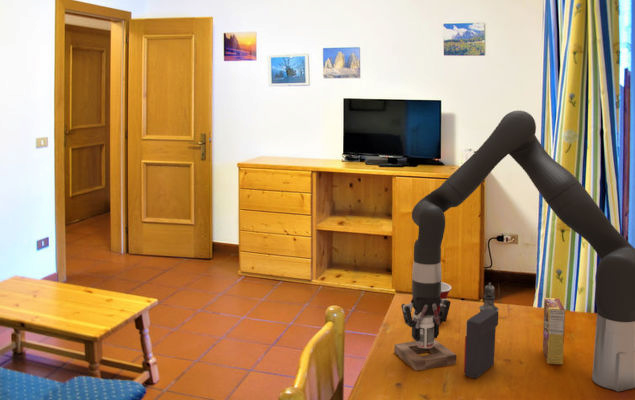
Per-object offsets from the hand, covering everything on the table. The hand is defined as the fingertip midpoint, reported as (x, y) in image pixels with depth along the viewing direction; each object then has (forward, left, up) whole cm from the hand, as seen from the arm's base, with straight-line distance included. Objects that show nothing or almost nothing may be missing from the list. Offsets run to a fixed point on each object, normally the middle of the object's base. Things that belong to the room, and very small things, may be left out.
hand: (425, 338), depth 170 cm
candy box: (-12, -32, -6) cm, 35 cm away
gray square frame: (0, 0, -6) cm, 6 cm away
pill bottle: (0, 0, -2) cm, 2 cm away
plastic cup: (+23, -16, -6) cm, 28 cm away
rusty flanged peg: (+18, -33, -6) cm, 38 cm away
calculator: (-12, -9, -6) cm, 16 cm away
